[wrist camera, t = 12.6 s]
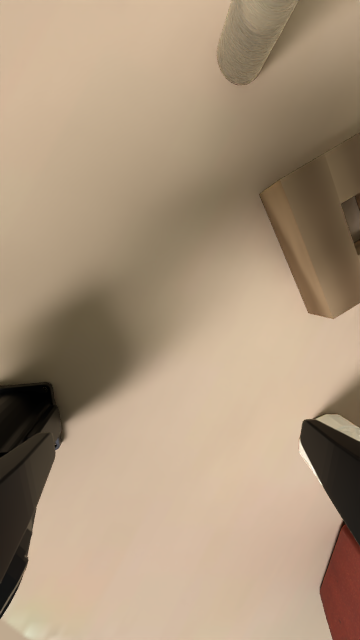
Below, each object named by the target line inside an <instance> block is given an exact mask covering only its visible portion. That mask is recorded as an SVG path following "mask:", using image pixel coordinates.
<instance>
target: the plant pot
mask: <svg viewBox="0 0 360 640" xmlns="http://www.w3.org/2000/svg"><path fill="white" fill-rule="evenodd" d="M320 596H321V600H322V603H323V607H324V611H325V615H326V619H327V622H328V625H329V629H330V632H331V636H332V639H333V640H360V546H359V544H358V543H357V541H356V540H355V538H354V536H353V535H352V533H351V532H350V530H349V528H348V527H347V525H346V524H345V525H344V526H343V527H342V528H341V531H340V534H339V537H338V540H337V542H336V545H335V548H334V551H333V554H332V557H331V560H330V563H329V566H328V569H327V571H326V574H325V577H324V580H323V583H322V586H321V589H320Z"/></svg>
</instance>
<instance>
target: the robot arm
mask: <svg viewBox="0 0 360 640" xmlns="http://www.w3.org/2000/svg"><path fill="white" fill-rule="evenodd" d="M43 387H46V388H47V390H44V389H43ZM61 431H62V428H61V421H60V415H59V409H58V406H57V405H55V400H54V394H53V387H52V385H51V384H50V383H48V382H43V383H32V384H22V385H11V386H0V619H1V617H2V616H3V614H4V612H5V611H6V609H7V608H8V606H9V604H10V603H11V601H12V599H13V597H14V595H15V593H16V591H17V589H18V587H19V584H20V582H21V580H22V577H23V574H24V572H25V570H26V567H27V564H28V557H27V555H28V550H29V545H30V539H31V536H32V529H33V524H34V518H35V513H36V507H37V504H38V502H39V499H40V496H41V494H42V491H43V488H44V486H45V483H46V480H47V478H48V475H49V472H50V470H51V467H52V464H53V462H54V459H55V450H57V449H58V448H59V447H60V445H61V436H60V433H61ZM300 441H301V445H302V447H303V449H304V451H305V453H306V455H307V457H308V459H309V461H310V463H311V464H312V466H313V468H314V470H315V472H316V474H317V476H318V478H319V480H320V482H321V484H322V486H323V487H324V489H325V491H326V493H327V494H328V496H329V498H330V499H331V501H332V503H333V504H334V506H335V507H336V509H337V511H338V512H339V514H340V515H341V517H342V519H343V520H344V522H345V524H346V525H347V527H348V528H349V530H350V532H351V533H352V535H353V536H354V538H355V540H356V541H357V543H358V544H359V546H360V441H358V440H356V439H354V438H352V437H350V436H348V435H346V434H344V433H342V432H340V431H338V430H336V429H334V428H332V427H330V426H328V425H326V424H324V423H322V422H320V421H318V420H316V419H306V420H304V421H303V423H302V429H301V435H300ZM55 443H56V445H55Z"/></svg>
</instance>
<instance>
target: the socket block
mask: <svg viewBox="0 0 360 640" xmlns="http://www.w3.org/2000/svg"><path fill="white" fill-rule="evenodd" d="M259 195H260V197H261V200H262V202H263V205H264V207H265V209H266V212H267V214H268V217H269V219H270V221H271V224H272V226H273V229H274V231H275V234H276V236H277V238H278V241H279V243H280V246H281V248H282V250H283V253H284V255H285V258H286V260H287V262H288V265H289V267H290V270H291V272H292V275H293V277H294V279H295V282H296V284H297V287H298V289H299V291H300V294H301V296H302V299H303V301H304V303H305V306H306V308H307V311H308V313H310V314H315V315H319V316H323V317H327V318H332V319H334V318H336V317H338V316H339V315H341V314H343V313H344V312H346V311H347V310H349V309H351V308H352V307H354V306H356V305H357V304H359V303H360V240H359V241H357V242H355V243H353V240H352V237H351V234H350V231H349V227H348V224H347V221H346V218H345V215H344V212H343V209H342V206H341V204H342V203H343V202H345V201H347V200H348V199H350V198H352V197H353V196H355V197H356V200H357V203H358V207H359V210H360V133H358V134H356V135H355V136H353V137H351V138H350V139H348V140H346V141H344V142H343V143H341V144H339V145H338V146H336V147H334V148H332V149H331V150H329V151H327V152H326V153H324V154H322V155H321V156H319V157H317V158H315V159H314V160H312V161H310V162H309V163H307V164H305V165H304V166H302V167H300V168H298V169H297V170H295V171H293V172H292V173H290V174H288V175H287V176H285V177H283V178H281V179H280V180H278V181H277V182H276V183H274V184H273V185H271V186H270V187H269V188H267V189H266V190H264V191H263V192H262V193H260V194H259Z"/></svg>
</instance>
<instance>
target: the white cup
mask: <svg viewBox="0 0 360 640" xmlns="http://www.w3.org/2000/svg"><path fill="white" fill-rule="evenodd" d="M316 420H318V421H320V422H322V423H324V424H326V425H328V426H330V427H332V428H334V429H336V430H338V431H340V432H342V433H344V434H346V435H348V436H350V437H352V438H354V439H356V440H358V441H360V428H359V427H358V426H356V425H355V424H353V423H352V422H350V421H349V420H347V419H346V418H344V417H342V416H340V415H339V414H325V415H323V416H320V417H318V418H316ZM299 453H300V454H301V456H302V458H303V460H304V461H305V463H306V464H307V465H308V466H309V468H310V469H311V470H312V471H313V473H314V474H315V475H316V477H317V479H318V481H319V482H320V480H319V478H318V476H317V474H316V472H315V470H314V468H313V466H312V464H311V463H310V461H309V459H308V457H307V455H306V453H305V451H304V449H303V447H302V445H301V441H300V439H299ZM320 483H321V482H320ZM321 485H322V484H321Z"/></svg>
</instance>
